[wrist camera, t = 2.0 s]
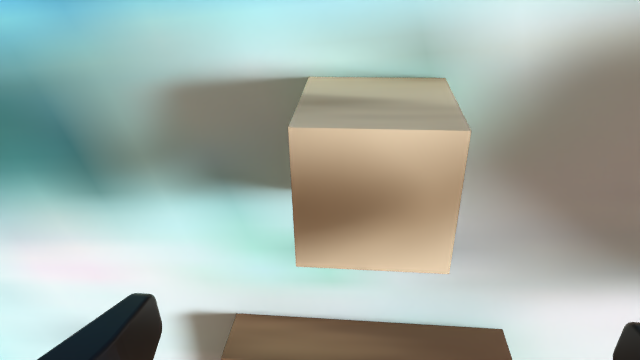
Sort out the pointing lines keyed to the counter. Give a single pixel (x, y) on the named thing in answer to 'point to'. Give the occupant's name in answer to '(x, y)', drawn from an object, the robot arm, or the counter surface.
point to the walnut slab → (357, 340)
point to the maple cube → (377, 173)
